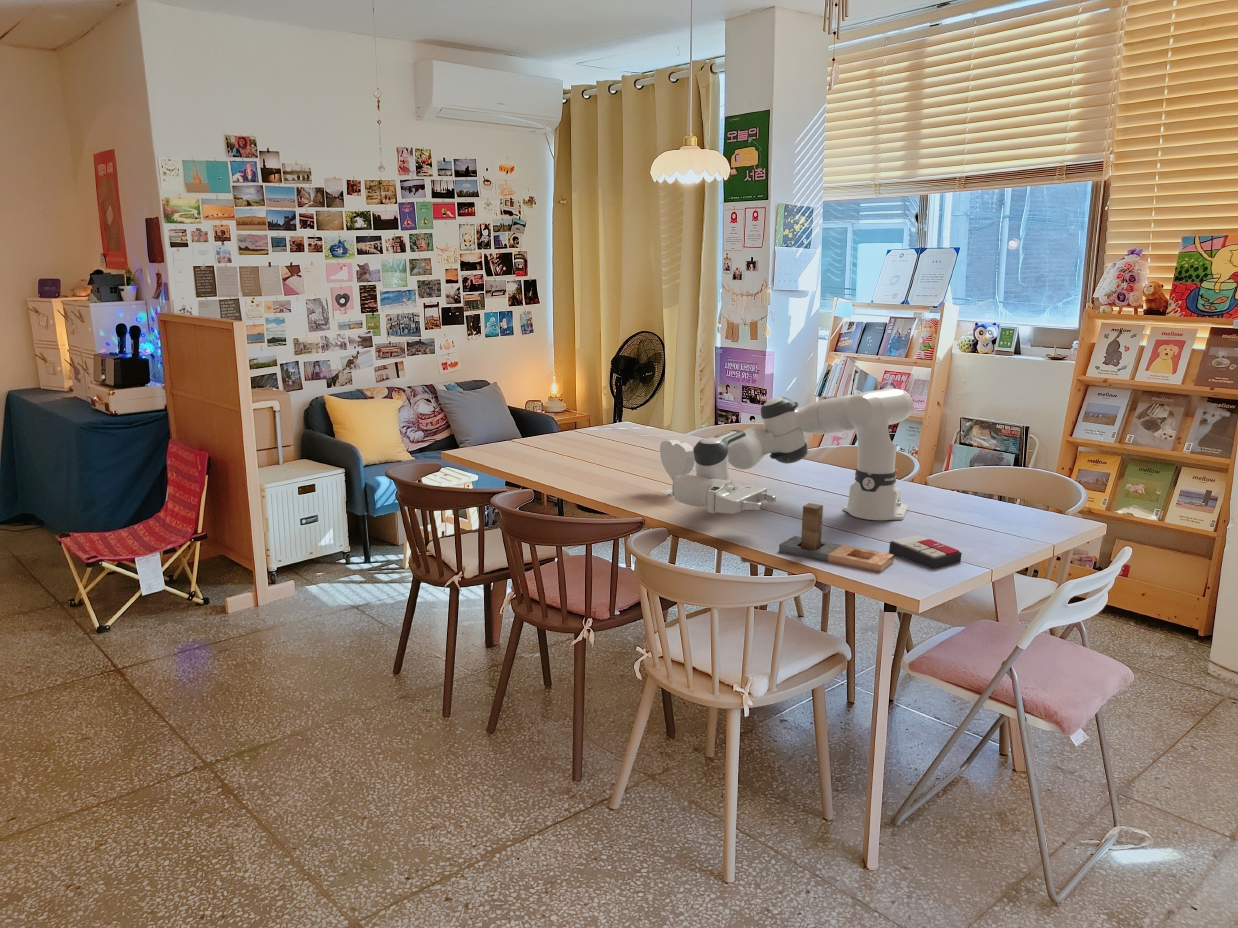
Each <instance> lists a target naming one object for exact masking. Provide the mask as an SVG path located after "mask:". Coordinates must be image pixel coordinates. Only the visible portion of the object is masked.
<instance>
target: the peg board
mask: <svg viewBox="0 0 1238 928" xmlns="http://www.w3.org/2000/svg"><path fill="white" fill-rule="evenodd" d="M778 546H779V547H778V552H779V553H783V554H788V555H792V556H797V557H801V558H807V559H812V560H818V561H823V562H825V563H826V562H827V563H831V564H837V565H842V566H848V567H850V568H851V567H852V568H857V569H862V570H868V571H871V572H876V573H881V572H883V571H884V570H885V569H887V568H888V567H890V566H891V565H893V563H894V559H895V558H894V557H895V555H893V554H890V553H889V552H882V551H876V550H872V549H866V548H860V547H855V546H851V545H844V544H839V543H835V542H834V543H833V542H829V541H823V540H821V548H819V549H817V550H816V549H811V548H805V547H801V536H798V535H794V536H792V537H790V538H789V539H787V540H784V541H783V542H782V543H780V544H778Z"/></svg>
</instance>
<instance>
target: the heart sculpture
mask: <svg viewBox="0 0 1238 928" xmlns="http://www.w3.org/2000/svg"><path fill="white" fill-rule="evenodd" d="M693 448H694V447H693V446H692V445H691V444H689V443H687V442H681V441H679V439H670V440H663V441H661V443H660V447H659V451H660V452H659V453H660V454H659V455H660V456H659V457H660V460H661V463H662V464H661V465H662V466H663V468H664V470H665V472H666V473H667V474H668V476H669V477H670V479H671V481H672V482H673V481H674V479H675V477H676V476H678V475H690V473H691V471H692V470H693V468H694V466H695V458H694V452H693ZM666 490H667V491H664V490H662V491H663V492H665V493H667V494H666V495H668V494H670V495H672V496H671V497H673V489H666ZM665 493H664V494H665ZM670 495H669V496H670Z"/></svg>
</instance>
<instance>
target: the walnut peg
mask: <svg viewBox="0 0 1238 928" xmlns="http://www.w3.org/2000/svg"><path fill="white" fill-rule="evenodd" d="M823 511H824V505H823V504H819V503H818V504H817V503H810V502H808V503H806V504H805V505H803V506H802V518H801V519H802V520H801V535H800V537H801V547H805V548H811V549H816V550H817V549H819V548H821V541H822V529H823V513H824V512H823Z"/></svg>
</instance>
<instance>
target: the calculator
mask: <svg viewBox="0 0 1238 928" xmlns="http://www.w3.org/2000/svg"><path fill="white" fill-rule="evenodd" d="M888 554H893V555H894V557H895V556H896V557H898V558H904V559H905V560H907V561H910V562H913V563H914V564H915V563H916V564H918V565H920V566H924V567H926V568H930V569H932V570H933V569H934V570H935V569H938V568H942V567H943V568H944V567H946V566H947V567H948V566H950V565H954V564H959V563H961V559H962V552H961V551H960V550H959V549H956V548H954V547H951V546H949V545H946V544H944V543H941V542H938V541H935V540H933V539H930V538H926V537H923V536H921V535H918V534H917V535H913V536H907V537H903V538H898V539H894V540H891V541H889V548H888Z"/></svg>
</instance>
